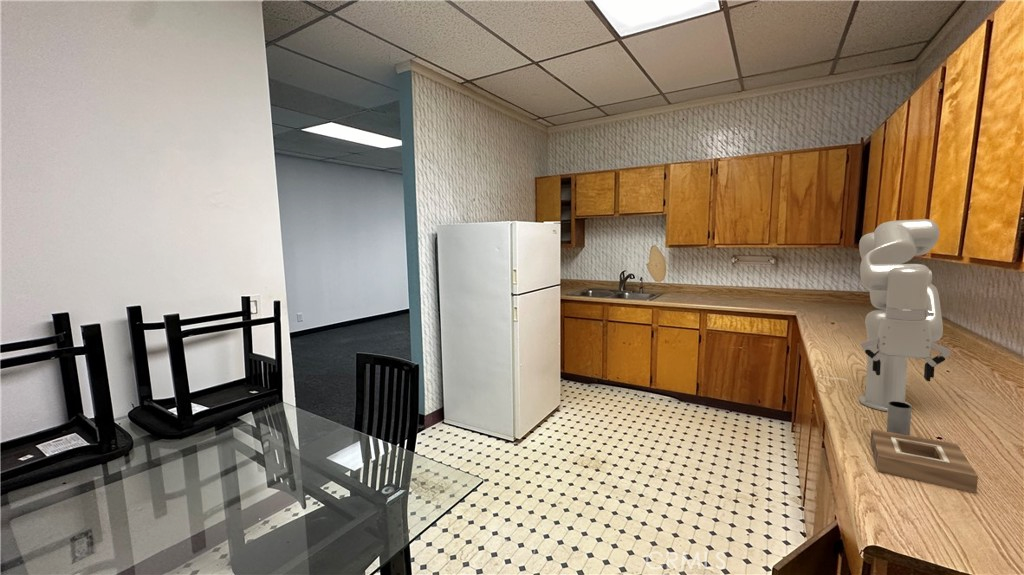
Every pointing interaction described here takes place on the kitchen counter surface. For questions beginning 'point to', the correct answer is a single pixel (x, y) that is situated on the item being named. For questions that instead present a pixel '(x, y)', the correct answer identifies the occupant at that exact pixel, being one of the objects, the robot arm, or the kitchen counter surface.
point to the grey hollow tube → (899, 418)
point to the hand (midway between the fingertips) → (901, 376)
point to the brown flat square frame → (923, 460)
